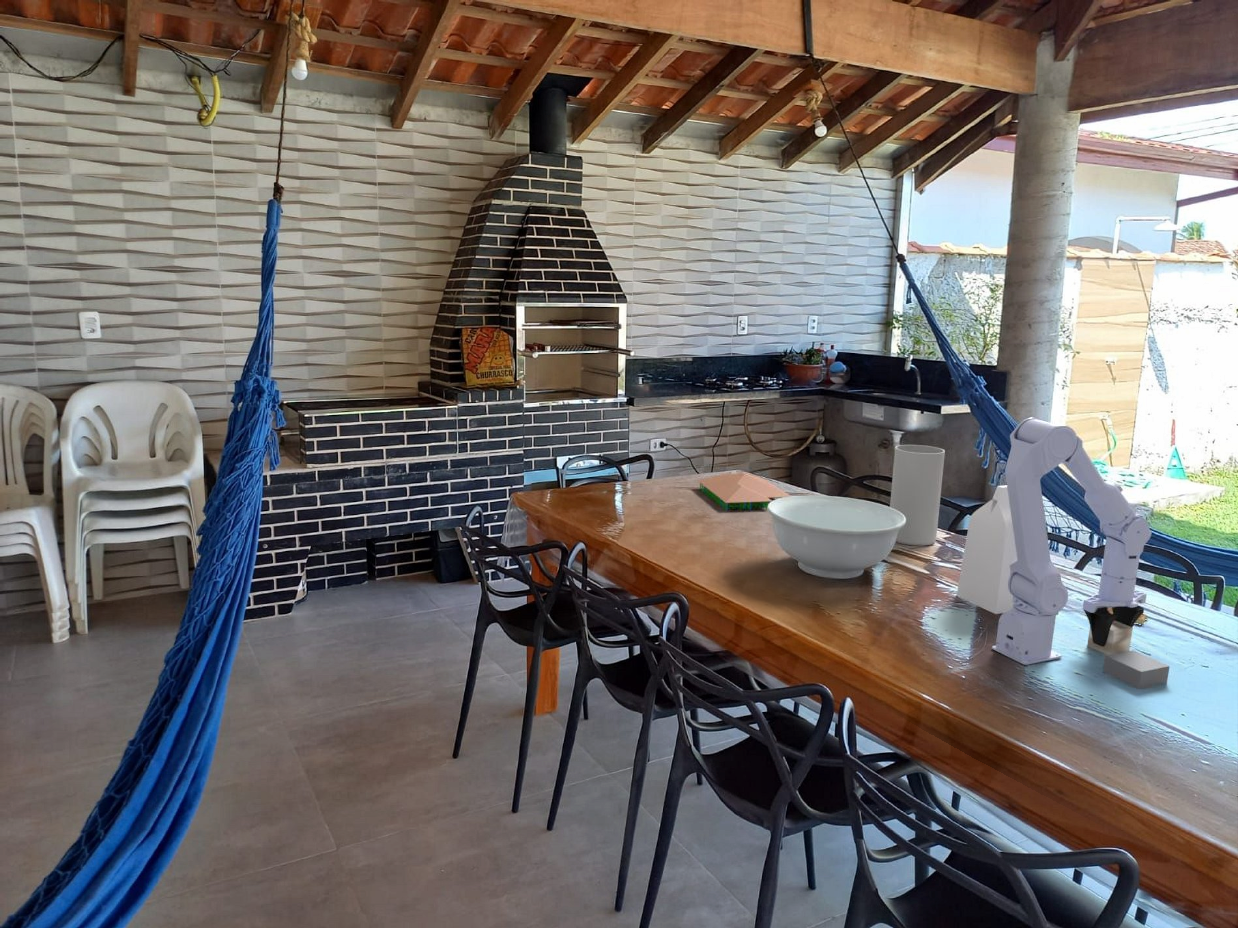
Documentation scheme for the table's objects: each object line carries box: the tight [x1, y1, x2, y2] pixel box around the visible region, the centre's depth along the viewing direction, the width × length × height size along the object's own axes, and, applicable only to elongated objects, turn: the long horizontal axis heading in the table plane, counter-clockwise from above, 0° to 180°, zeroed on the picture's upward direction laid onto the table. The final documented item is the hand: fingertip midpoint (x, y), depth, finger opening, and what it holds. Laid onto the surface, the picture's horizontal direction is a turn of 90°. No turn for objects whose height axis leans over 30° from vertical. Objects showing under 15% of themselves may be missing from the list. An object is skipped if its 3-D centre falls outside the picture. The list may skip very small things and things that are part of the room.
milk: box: [956, 484, 1017, 615], centre depth 187 cm, size 12×12×26 cm
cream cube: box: [1086, 621, 1134, 656], centre depth 165 cm, size 5×5×5 cm
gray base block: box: [1102, 649, 1171, 690], centre depth 154 cm, size 7×7×4 cm
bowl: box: [766, 495, 906, 580], centre depth 208 cm, size 32×32×15 cm
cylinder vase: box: [889, 444, 946, 547], centre depth 233 cm, size 12×12×25 cm
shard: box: [1108, 607, 1149, 625], centre depth 184 cm, size 11×8×2 cm
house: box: [696, 471, 792, 512], centre depth 278 cm, size 23×33×8 cm
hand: (1108, 642), depth 165 cm, fingers closed on cream cube, 5 cm apart
